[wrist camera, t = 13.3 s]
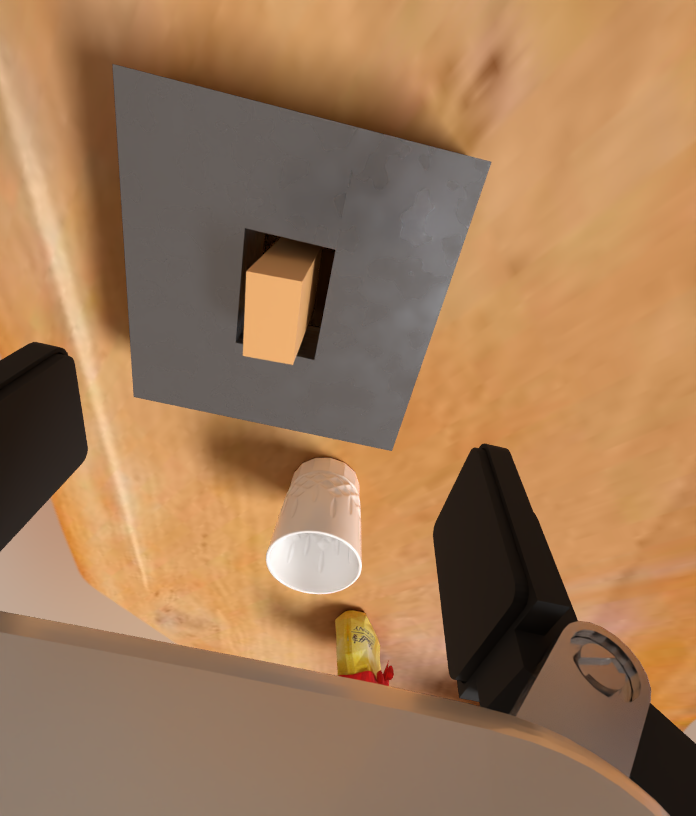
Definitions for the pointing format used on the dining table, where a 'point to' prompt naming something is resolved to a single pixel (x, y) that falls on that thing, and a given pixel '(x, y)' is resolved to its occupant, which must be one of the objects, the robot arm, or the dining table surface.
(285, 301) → the tall tan wooden block
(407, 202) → the collar
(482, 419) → the dining table surface
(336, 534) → the white cup
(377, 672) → the chocolate bunny
